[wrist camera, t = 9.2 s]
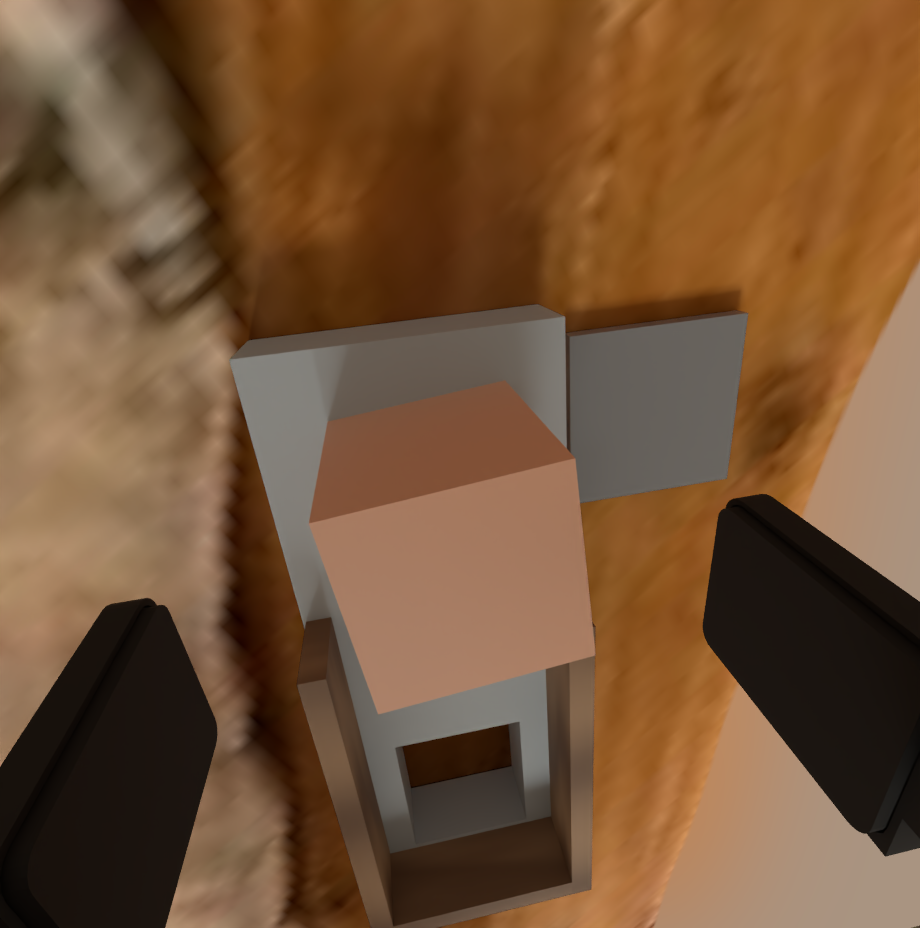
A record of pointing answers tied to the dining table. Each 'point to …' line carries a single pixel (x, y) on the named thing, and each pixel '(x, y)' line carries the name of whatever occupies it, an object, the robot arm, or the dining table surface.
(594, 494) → the coaster
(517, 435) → the block
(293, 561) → the deck
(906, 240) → the dining table surface
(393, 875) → the channel walls
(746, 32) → the dining table surface
